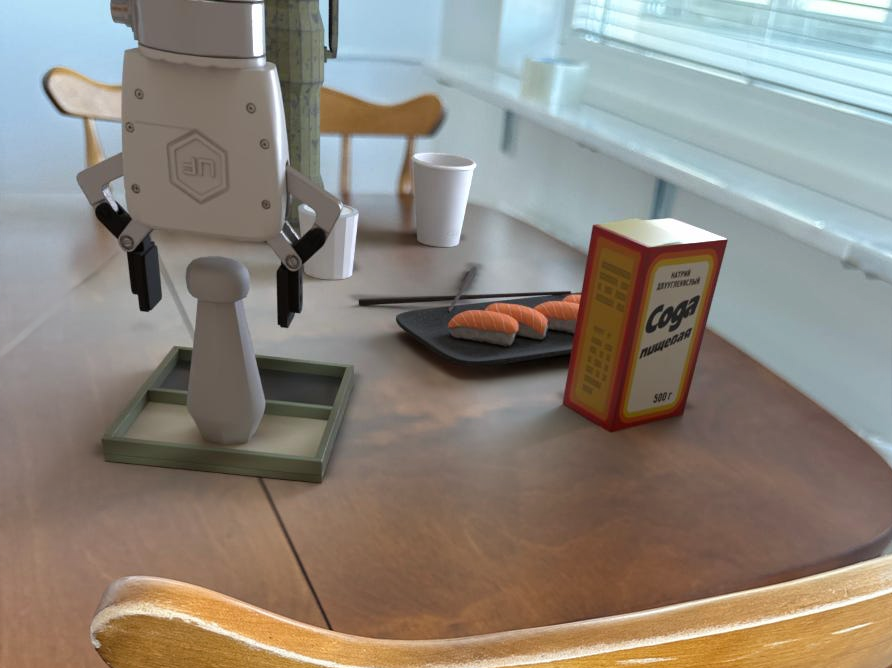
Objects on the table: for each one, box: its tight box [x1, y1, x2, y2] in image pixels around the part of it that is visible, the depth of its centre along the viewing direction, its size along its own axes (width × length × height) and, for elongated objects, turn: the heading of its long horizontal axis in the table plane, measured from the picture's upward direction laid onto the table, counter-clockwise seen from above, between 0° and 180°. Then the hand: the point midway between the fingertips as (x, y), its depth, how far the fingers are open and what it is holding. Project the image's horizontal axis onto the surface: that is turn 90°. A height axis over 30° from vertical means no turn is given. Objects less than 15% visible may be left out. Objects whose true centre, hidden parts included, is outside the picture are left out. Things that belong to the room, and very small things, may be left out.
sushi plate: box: [358, 266, 582, 367], centre depth 102 cm, size 29×30×4 cm
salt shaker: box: [185, 255, 266, 445], centre depth 68 cm, size 6×6×13 cm
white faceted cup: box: [298, 204, 359, 281], centre depth 107 cm, size 7×7×7 cm
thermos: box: [263, 0, 340, 243], centre depth 108 cm, size 9×12×35 cm
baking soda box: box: [562, 217, 729, 433], centre depth 81 cm, size 10×6×16 cm
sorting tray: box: [100, 345, 355, 484], centre depth 76 cm, size 16×19×2 cm
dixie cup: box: [410, 151, 477, 248], centre depth 122 cm, size 8×8×10 cm
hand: (219, 313), depth 66 cm, fingers open, 9 cm apart
